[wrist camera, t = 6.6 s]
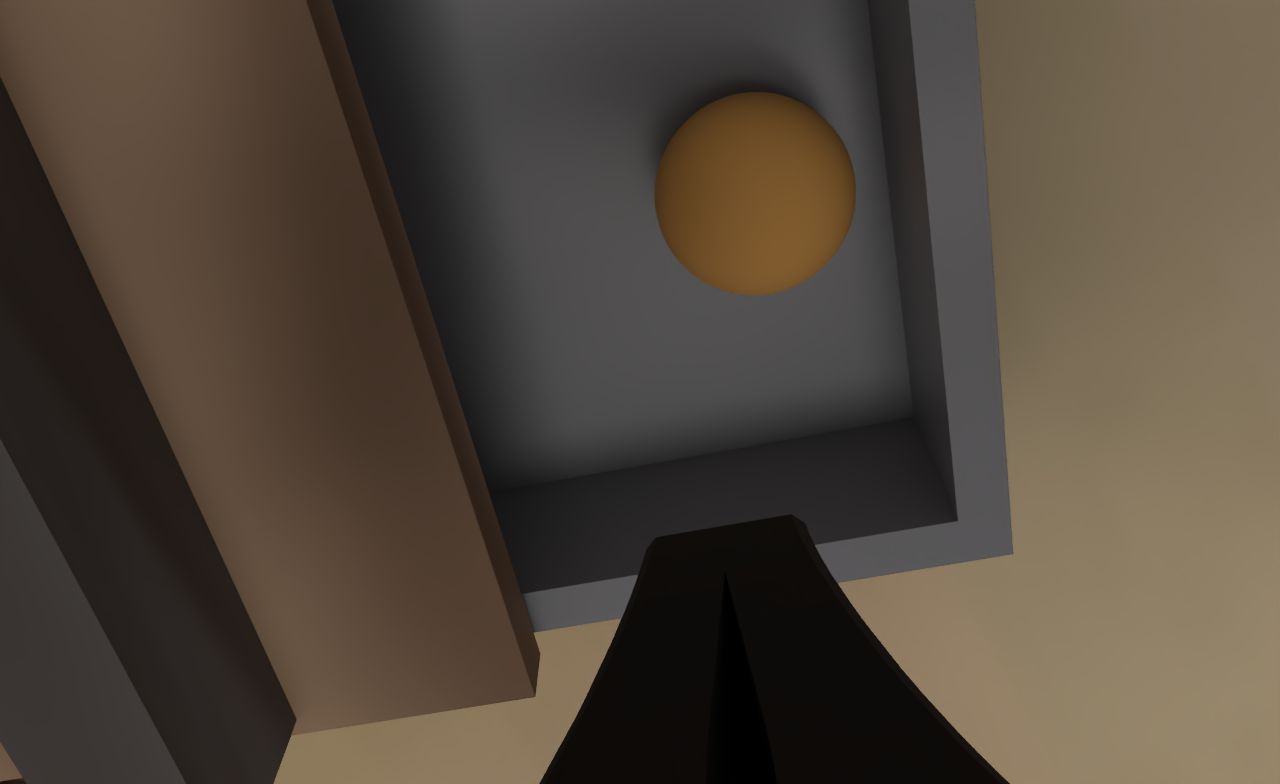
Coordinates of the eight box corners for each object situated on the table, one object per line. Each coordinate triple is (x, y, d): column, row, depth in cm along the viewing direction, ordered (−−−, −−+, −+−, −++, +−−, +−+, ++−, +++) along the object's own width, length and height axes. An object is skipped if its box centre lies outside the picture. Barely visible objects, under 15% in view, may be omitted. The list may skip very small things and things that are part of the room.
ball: (826, 53, 18) (859, 100, 15) (850, 234, 19) (884, 306, 16) (636, 92, 18) (634, 146, 15) (673, 268, 19) (677, 344, 17)
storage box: (886, -301, 16) (952, -323, 13) (955, 433, 21) (1013, 554, 18) (82, -109, 17) (-54, -84, 14) (341, 540, 23) (288, 672, 19)
